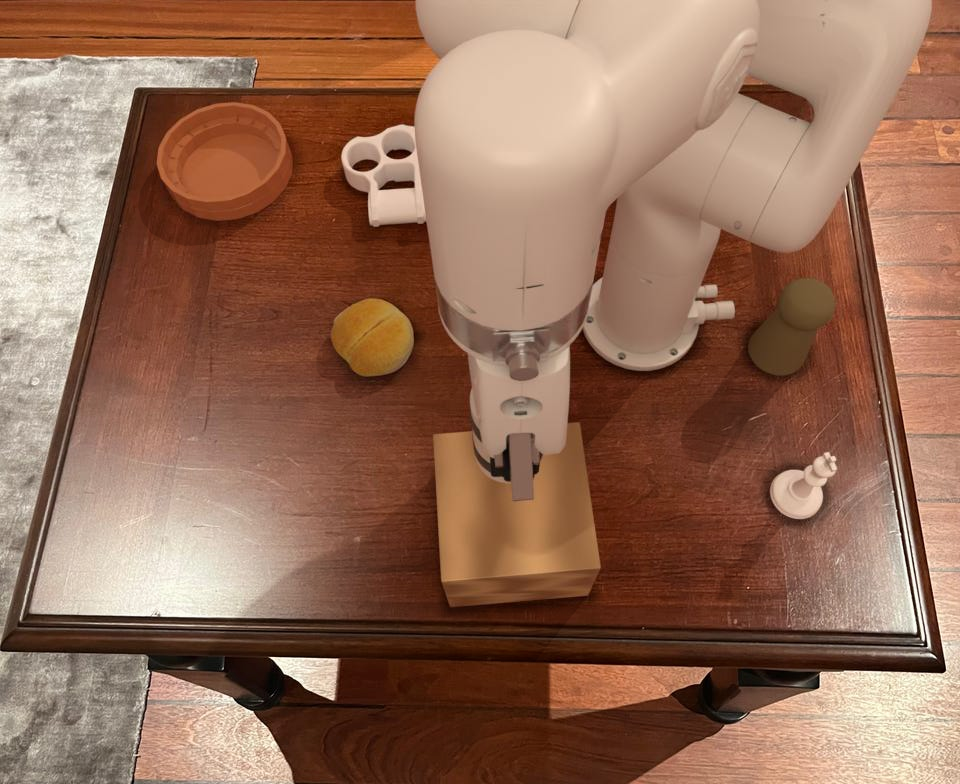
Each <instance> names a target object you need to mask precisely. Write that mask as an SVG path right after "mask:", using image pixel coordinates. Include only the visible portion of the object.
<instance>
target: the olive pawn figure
mask: <svg viewBox="0 0 960 784" xmlns="http://www.w3.org/2000/svg"><path fill="white" fill-rule="evenodd" d="M836 306H837V302H836V297H835V295H834V293H833V291H832V288H830V286H828V285H827V283H825V282H823V281H822V280H820V279H816V278H812V277H802V278H797V279H794V280H792V281H791V282H789V283H788V284H786V285H785V286H784V288H783V289H782V290H781V292H780V293H779V295H778V299H777V308H775V309H774V311H773V312H772V313H771V314H770V315H768V317H767V318H766V319H765V320H764V322H762V324H761V325H760V326H759V327H758V328H757V329H756V330H755V331H754V332H753V333H752V335H751V336H750V337H749V340H748V344H747V349H748V355H749V357H750V359H751V361H752V362H753V363H754V365H755V366H756V367H757V368H758V369H760V370H761V371H763V372H765V373H768V374H769V375H773V376H788V375H792V374H794V373H796V372H797V371H799V370H800V369H801V368H802V366H803V365H804V363H805V362H806V359H807V357H808V354H809V352H810V349H811V347H812V344H813V343H814V340H815V337H816V335H817V332H818V330H819V329H820V328H822V327H824V326H826V325H827V324H828V323H829V321H830V320H831V319H832V317H833V316H834V314H835V310H836Z"/></svg>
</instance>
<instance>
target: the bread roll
mask: <svg viewBox="0 0 960 784" xmlns="http://www.w3.org/2000/svg"><path fill="white" fill-rule="evenodd" d="M330 340H331V343H332V346H333V348H334V350H335V352H336V353H337V354H338V355H339V356H340V357H341V358H343V359H344V360H345V361H346V362H347V363H348V365H349V367H350V369H351V370H352V371H353V372H354V373H355V374H357V375H358V376H361V377H367V378H368V377H378V376H379V377H381V376H384V375H390V374H394V373H395V372H397V371H399V370H400V369H401V368H402V367H403V366H404V365H405V364H406V362H407V361H408V360H409V357H410V356H411V354H412V352H413V348H414V343H415V337H414V328H413V326H412V323H411V321H410V319H409V318H408V317H407V316H406V314H405V313H403V312H402V311H401V310H399V308H397V307H396V305H394V304H392V303H390V301H389V302H388V301H386V300H384V299H381V298H372V297H370V298H365V299H362V300H360V301H358V302H356V303H352V304H351V305H350V306H348V307H347V308H345V309H344V310H343V311H342V312H340V313H338V315H337V316H336V317H335V318H334V319H333V325H332V327H331V331H330Z"/></svg>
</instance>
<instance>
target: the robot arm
mask: <svg viewBox="0 0 960 784" xmlns="http://www.w3.org/2000/svg"><path fill="white" fill-rule="evenodd" d="M414 3H415V4H414V5H415V12H416V18H417V19H416V20H417V24H418V27H419V30H420V32H421V35H422V37H423V39H424V41H425V43H426V44H427V46H428V47H429V49H430V51H432V53H433V54H434V55H435V56H436V57H437V58H438V59H439V60H438V62H437V63H436V64H435V65H434V67H433V68H431V70H430V71H429V73H428V74H427V75H426V78H425V79H424V82H423V84H422V85H421V88H420V90H419V92H418V96H417V101H416V104H415V109H414V117H413V118H414V119H413V120H414V121H413V122H414V126H415V141H416V149H417V157H418V164H419V171H420V178H421V185H422V193H423V200H424V207H425V214H426V222H425V223H426V228H427V234H428V242H429V249H430V255H431V261H432V269H433V280H434V285H435V293H436V294H435V295H436V301H437V308H438V314H439V317H440V321H441V324H442V326H443V328H444V330H445V332H446V333H447V335H448V336H449V337H450V338H451V340H452V341H453V342H454V343H455V344H456V345H457V346H458V347H459V348H460V349H461V350H462V351H464V352H465V353H467V358H468V359H467V361H468V370H469V375H470V383H471V389H472V390H473V396H474V402H475V408H476V413H477V419H478V424H479V429H480V434H481V439H482V444H483V449H484V451H485V452H486V453H487V454H488V455H489V456H490V469H491V476H492V477H504V480H505V481H506V482H510V483H511V492H512V499H513V501H523V500H534V489H533V480H534V477H535V474H537V473H538V472H539V467H540V458H541V453H542V454H543V455H552V454H558V453H560V452H561V451H562V450H563V448H564V447H565V445H566V435H567V423H569V422H568V421H569V408H570V395H571V393H570V392H571V391H570V390H571V351H570V350H571V345H572V344H573V343H574V341H575V340H576V339H577V338H578V336H580V335H579V334H581V332H583V335H584V338H585V339H586V340H587V342H588V344H589V345H590V346H591V348H592V349H593V350H594V351H595V352H596V354H598V355H599V356H600V357H601V358H602V359H604V360H605V361H607V362H609V363H611V364H613V365H614V366H617V367H620V368H623V369H626V370H631V371H637V372H650V371H655V370H660V369H664V368H666V367H669V366H671V365H673V364H675V363H676V362H678V361H680V360H681V359H682V358H683V357H684V356H685V355H686V354H688V352H689V350H690V349H691V348H692V347H693V345H694V342H695V340H696V338H697V335H698V331H699V328H700V325H704V323H705V321H714V320H715V321H722V320H733V319H734V318H735V314H736V309H735V304H734V301H733V300H724V301H723V300H721V301H714V302H709V303H704V301H703V300H697V299H711V298H717V297H718V295H719V291H718V286H717V284H715V283H714V284H704V285H702V282H703V280H704V277H705V275H706V273H707V271H708V267H709V265H710V262H711V260H712V257H713V255H714V252H715V250H716V249H717V245H718V242H719V240H720V236H721V232H722V231H725V232H726V233H729V234H731V235H734V236H735V237H737V238H740V239H742V240H745V241H747V242H748V243H749V242H750V243H752V244H754V245H756V246H758V247H761V248H764V249H767V250H769V251H771V252H772V251H773V252H776V253H783V254H790V253H795V252H798V251H800V250H802V249H803V248H805V247H807V246H808V245H809V244H810V243H812V241H813V240H814V239H815V238H816V237H817V236H818V234H819V233H820V231H821V230H822V229H823V227H824V226H825V224H826V223H827V221H828V220H829V218H830V216H831V214H832V213H833V211H834V209H835V208H836V206H837V204H838V203H839V201H840V199H841V197H842V195H843V193H844V191H845V189H846V188H847V186H848V184H849V182H850V181H851V179H852V177H853V175H854V173H855V171H856V170H857V167H858V166H859V164H860V162H861V160H862V158H863V157H864V155H865V153H866V151H867V149H868V148H869V146H870V143H871V142H872V140H873V138H874V136H875V134H876V133H877V131H878V129H879V127H880V125H881V124H882V122H883V119H884V118H885V116H886V115H887V112H888V111H889V108H890V107H891V105H892V103H893V102H894V100H895V98H896V97H897V94H898V92H899V90H900V89H901V87H902V85H903V83H904V81H905V80H906V78H907V75H908V74H909V71H910V69H911V68H912V66H913V64H914V62H915V59H916V58H917V55H918V53H919V51H920V49H921V46H922V44H923V42H924V40H925V36H926V34H927V30H928V29H929V25H930V20H931V16H932V10H933V1H932V0H415V2H414ZM747 77H751V78H753V79H755V80H758V81H760V82H763V83H765V84H768V85H770V86H773V87H775V88H778V89H781V90H783V91H786V92H789V93H792V94H794V95H796V96H799V97H802V98H803V99H805V100H806V101H808V102H809V103H810V105H811V106H812V109H813V119H812V122H809V121H807V120H805V119H801V118H798V117H797V116H794V115H791V114H789V113H786V112H784V111H781V110H779V109H776V108H773V107H771V106H768V105H766V104H764V103H762V102H760V101H759V100H756V99H753V98H752V97H749V96H746V95H744V94H741V93H739V92H740V90H741V88H742V87H743V85H744V83H745V81H746V79H747ZM615 201H616V205H615V211H614V212H615V213H614V218H613V222H612V228H611V233H610V238H609V242H608V248H607V252H606V253H607V254H606V258H605V264H604V268H603V274H602V277H600V278H599V279H598V280H597V281H595V282H594V279H595V275H596V267H597V261H598V256H599V252H600V251H599V250H600V246H601V240H602V234H603V229H604V224H605V218H606V213H607V210H608V209H609V207H610V206H611V205H612V204H613V203H614V202H615ZM721 230H722V231H721ZM506 443H509V444H506Z"/></svg>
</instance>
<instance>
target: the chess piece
mask: <svg viewBox="0 0 960 784" xmlns="http://www.w3.org/2000/svg"><path fill="white" fill-rule="evenodd" d="M836 462H837V458H836V456H835V455H832V456H831V454H830V452H829V451H826V452H823V453H822V454H821V456H817V457H816V458H815V459H814V460H813V462H812V464H809V465H807V466H806V467H805V468H804V470H800V469H789V470H788V469H787V470H784V471H781V472H780V473H779V474H778V475H776V476H775V477H774V478H773V480H772V482H771V484H770V488H769V495H770V496H769V497H770V500H771V501H772V504H773V505H774V507H775V508H776V510H778V511H779V512H780V513H781V514H782V515H784V516H786V517H788V518H791V519H795V520H805V519H808V518H811V517H813V516H814V515H816V513H817V512H818V511H819V510H820V508H821V507H822V505H823V500H824V494H823V490H822V487H823V486H825V484H826V483H827V481H828V479H829V478H831V477H833V476H834V475H835V474H836V472H837V471H838V467H837V464H836Z"/></svg>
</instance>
